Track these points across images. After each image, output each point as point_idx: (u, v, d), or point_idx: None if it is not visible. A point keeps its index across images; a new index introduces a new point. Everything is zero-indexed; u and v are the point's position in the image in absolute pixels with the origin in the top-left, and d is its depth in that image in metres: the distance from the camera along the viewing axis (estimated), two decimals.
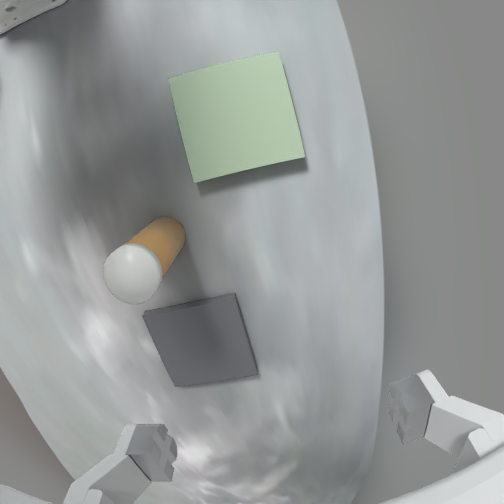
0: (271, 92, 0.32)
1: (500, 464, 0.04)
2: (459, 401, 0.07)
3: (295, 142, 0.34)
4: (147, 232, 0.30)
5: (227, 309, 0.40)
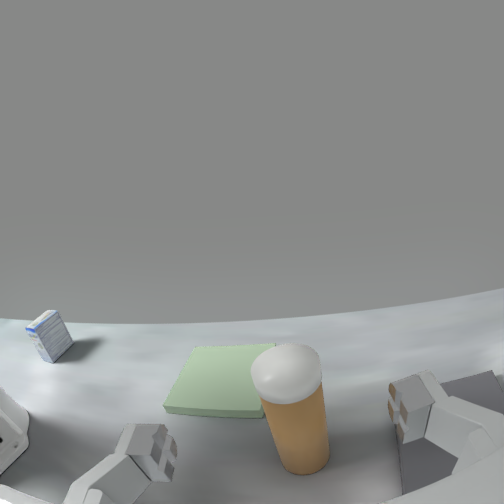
0: (219, 354, 0.45)
1: (500, 464, 0.04)
2: (459, 401, 0.07)
3: (262, 347, 0.44)
4: None
5: None
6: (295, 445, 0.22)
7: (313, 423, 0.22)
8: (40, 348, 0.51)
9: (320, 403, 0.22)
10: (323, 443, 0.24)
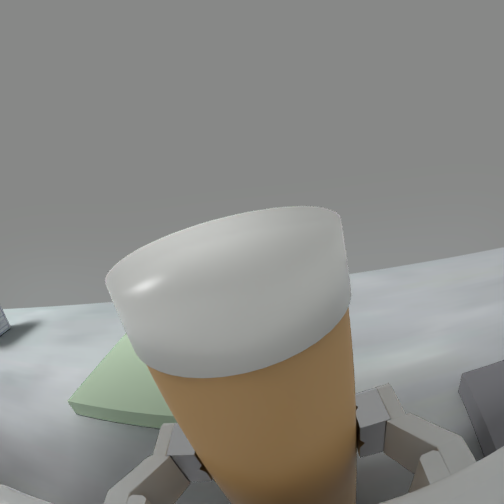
0: None
1: (500, 464, 0.04)
2: (417, 419, 0.07)
3: None
4: None
5: (488, 381, 0.13)
6: None
7: (328, 452, 0.06)
8: None
9: (349, 386, 0.06)
10: (348, 495, 0.08)
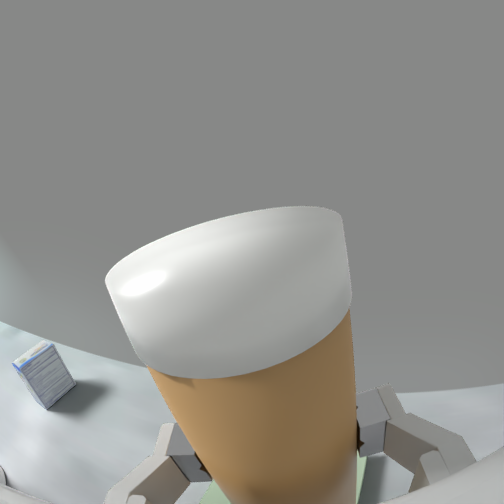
0: None
1: (500, 464, 0.04)
2: (417, 418, 0.07)
3: None
4: None
5: None
6: None
7: (328, 453, 0.06)
8: (31, 390, 0.36)
9: (350, 387, 0.06)
10: (349, 495, 0.08)
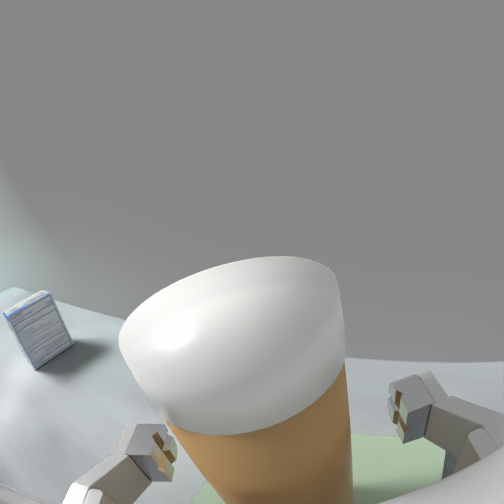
0: None
1: (500, 464, 0.04)
2: (459, 401, 0.07)
3: (416, 448, 0.13)
4: None
5: None
6: None
7: (324, 480, 0.07)
8: (20, 346, 0.33)
9: (343, 426, 0.07)
10: None
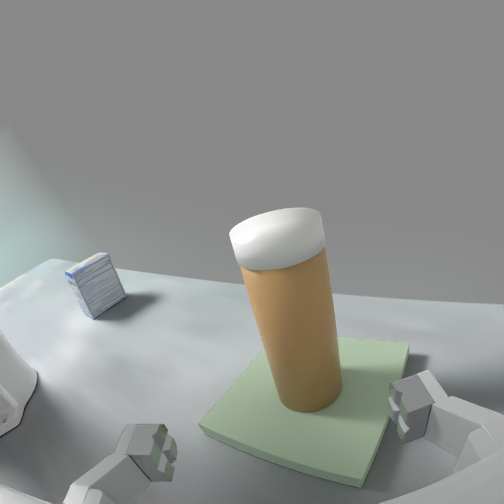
0: None
1: (500, 464, 0.04)
2: (459, 401, 0.07)
3: (387, 347, 0.24)
4: None
5: None
6: (293, 355, 0.18)
7: (317, 314, 0.17)
8: (80, 299, 0.46)
9: (325, 284, 0.17)
10: (333, 359, 0.19)
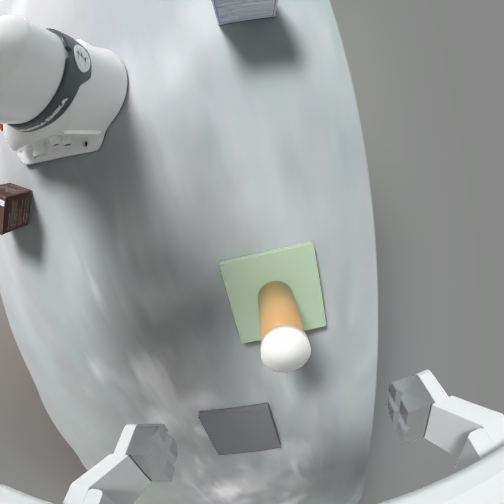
0: (305, 280, 0.43)
1: (500, 464, 0.04)
2: (459, 401, 0.07)
3: (319, 316, 0.45)
4: (277, 308, 0.36)
5: (262, 414, 0.51)
6: None
7: None
8: None
9: None
10: None
